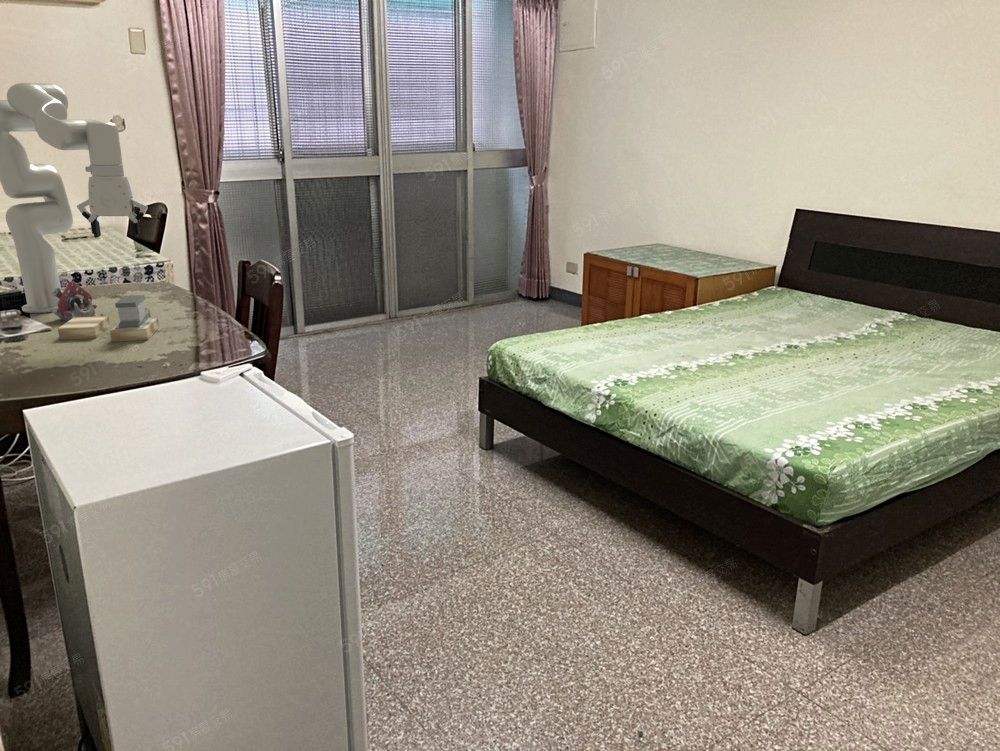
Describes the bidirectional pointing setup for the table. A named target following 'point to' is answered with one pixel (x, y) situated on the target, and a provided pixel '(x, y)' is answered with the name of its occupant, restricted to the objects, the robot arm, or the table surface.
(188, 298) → the table surface
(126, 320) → the block
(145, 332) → the stand
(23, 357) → the table surface
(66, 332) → the stand
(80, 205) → the robot arm
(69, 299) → the motor mount assembly
